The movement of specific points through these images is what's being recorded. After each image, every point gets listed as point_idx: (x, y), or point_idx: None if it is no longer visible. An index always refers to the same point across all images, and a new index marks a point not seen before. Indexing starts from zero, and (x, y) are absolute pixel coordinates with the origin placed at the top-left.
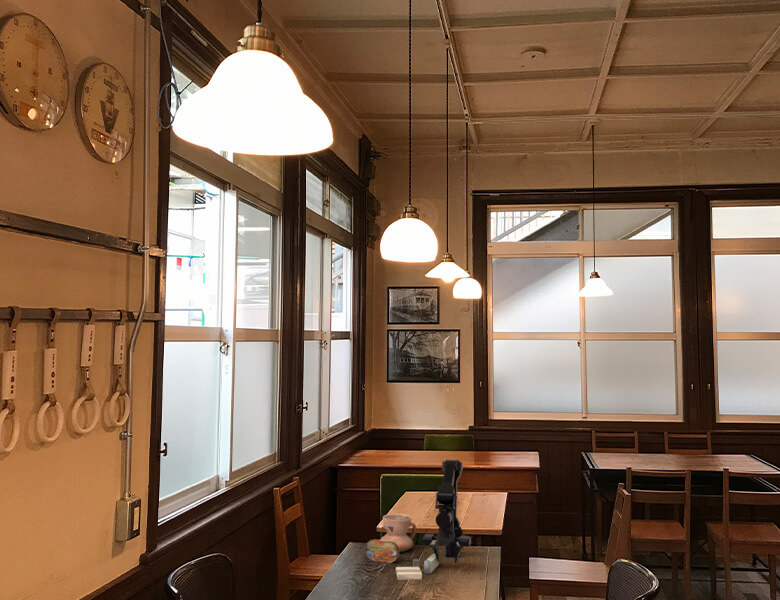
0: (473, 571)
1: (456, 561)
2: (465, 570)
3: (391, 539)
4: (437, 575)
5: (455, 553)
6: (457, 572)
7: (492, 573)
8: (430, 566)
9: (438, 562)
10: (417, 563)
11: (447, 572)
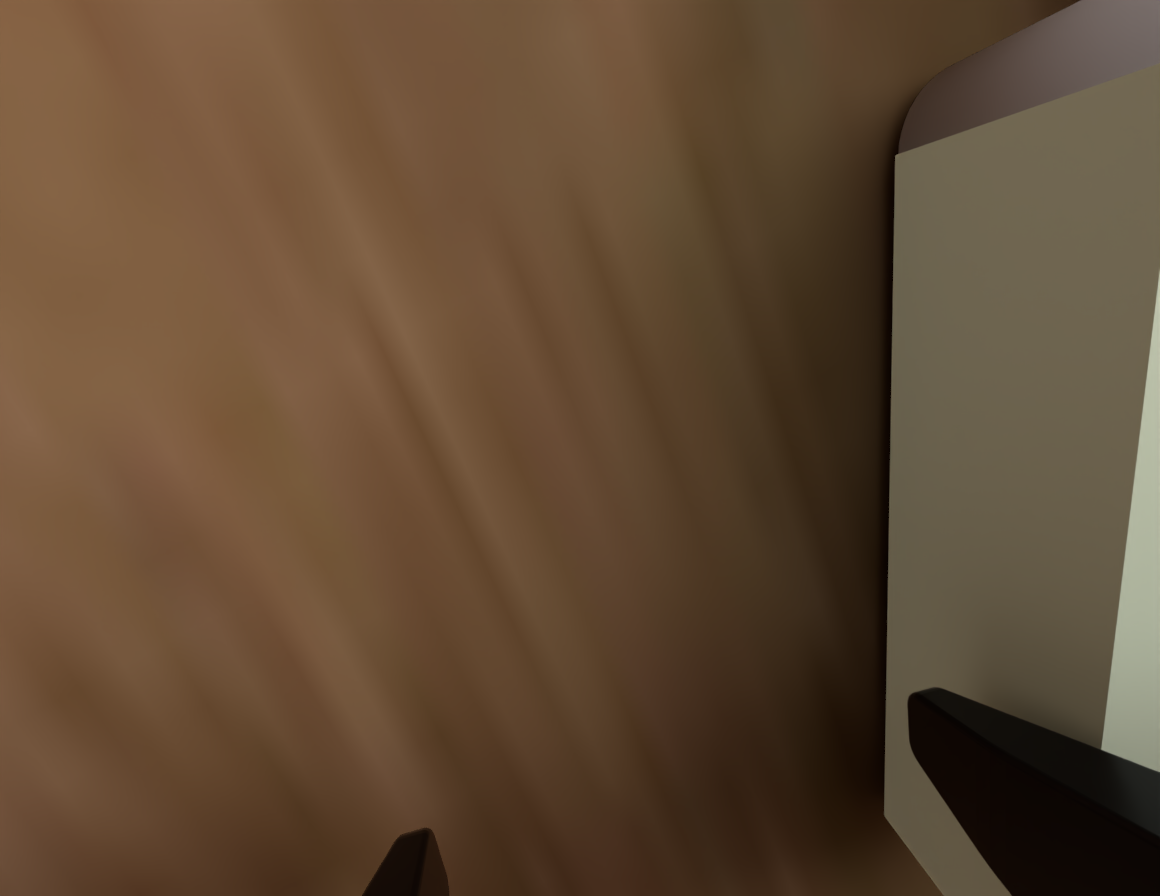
0: (37, 839)
1: (372, 878)
2: (242, 806)
3: None
4: (688, 135)
5: None
6: (337, 597)
7: None
8: (1039, 116)
9: (918, 829)
10: None
11: (551, 483)
